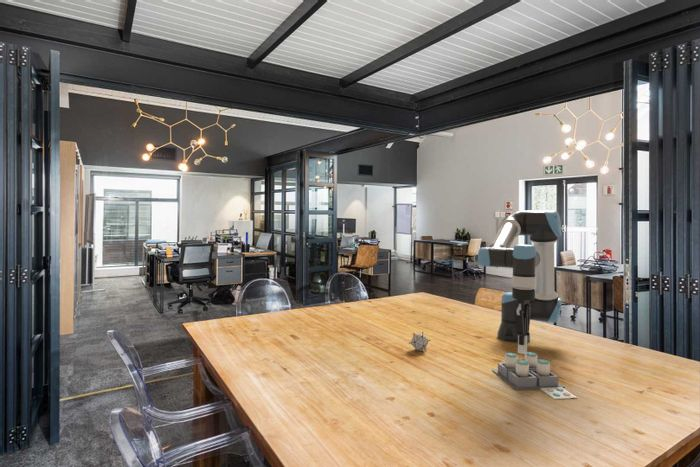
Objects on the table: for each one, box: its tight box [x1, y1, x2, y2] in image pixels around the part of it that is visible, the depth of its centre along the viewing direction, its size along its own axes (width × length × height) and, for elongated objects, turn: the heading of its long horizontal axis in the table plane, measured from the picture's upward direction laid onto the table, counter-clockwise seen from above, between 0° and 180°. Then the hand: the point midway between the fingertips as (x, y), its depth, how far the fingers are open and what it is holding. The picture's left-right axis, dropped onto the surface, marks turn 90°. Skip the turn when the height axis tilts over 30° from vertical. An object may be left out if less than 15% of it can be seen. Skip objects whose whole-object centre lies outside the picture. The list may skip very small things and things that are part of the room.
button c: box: [536, 358, 551, 376], centre depth 145 cm, size 4×4×5 cm
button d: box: [524, 351, 538, 368], centre depth 153 cm, size 4×4×5 cm
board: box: [492, 362, 566, 391], centre depth 149 cm, size 18×18×4 cm
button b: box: [504, 352, 518, 369], centre depth 153 cm, size 4×4×5 cm
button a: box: [516, 359, 529, 377], centre depth 145 cm, size 4×4×5 cm
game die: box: [408, 331, 431, 353], centre depth 181 cm, size 9×8×10 cm
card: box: [539, 387, 578, 400], centre depth 137 cm, size 8×8×1 cm
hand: (522, 353), depth 144 cm, fingers closed
